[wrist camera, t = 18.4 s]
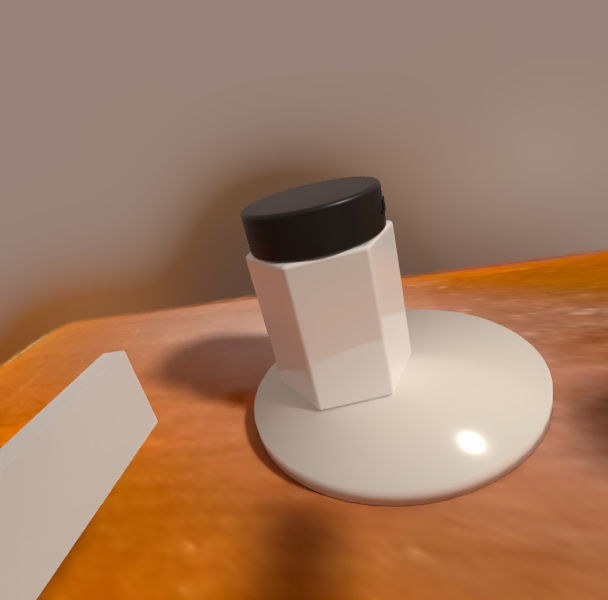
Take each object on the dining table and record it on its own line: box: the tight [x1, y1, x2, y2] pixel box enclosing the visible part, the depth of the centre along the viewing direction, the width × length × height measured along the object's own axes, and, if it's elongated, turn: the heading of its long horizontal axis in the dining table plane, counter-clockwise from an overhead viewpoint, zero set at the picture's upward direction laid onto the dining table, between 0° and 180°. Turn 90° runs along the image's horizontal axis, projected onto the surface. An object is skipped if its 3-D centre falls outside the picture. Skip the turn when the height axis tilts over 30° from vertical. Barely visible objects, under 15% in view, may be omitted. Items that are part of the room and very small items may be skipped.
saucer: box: [254, 309, 553, 506], centre depth 27 cm, size 18×18×1 cm
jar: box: [241, 177, 411, 410], centre depth 26 cm, size 9×8×12 cm
